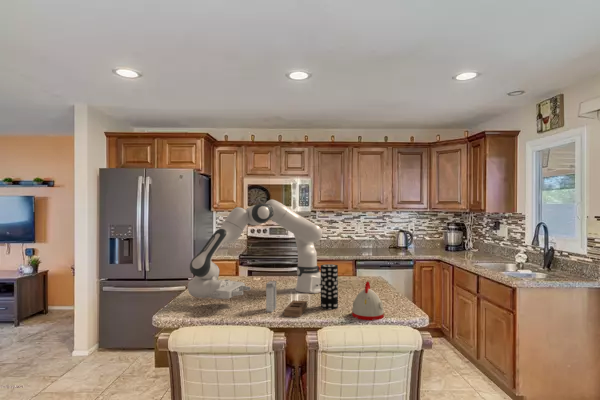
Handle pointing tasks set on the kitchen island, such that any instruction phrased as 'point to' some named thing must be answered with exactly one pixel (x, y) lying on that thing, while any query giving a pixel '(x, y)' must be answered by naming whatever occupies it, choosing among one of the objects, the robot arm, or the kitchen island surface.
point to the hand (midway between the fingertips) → (246, 290)
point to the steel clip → (270, 296)
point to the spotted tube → (329, 286)
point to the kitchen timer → (367, 305)
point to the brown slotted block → (295, 308)
